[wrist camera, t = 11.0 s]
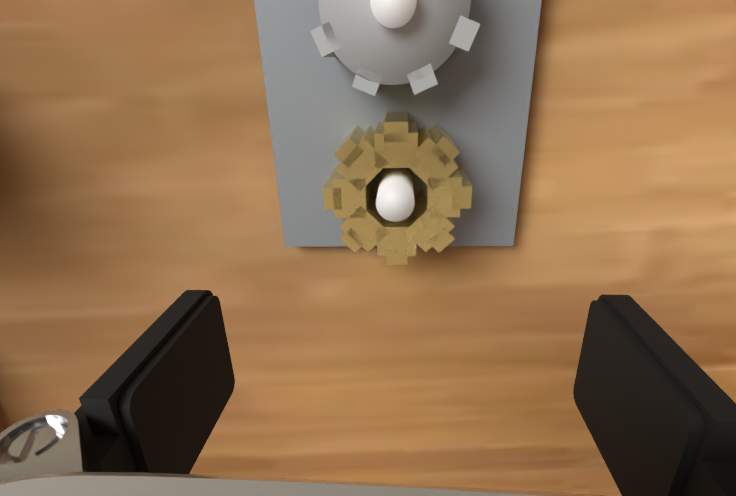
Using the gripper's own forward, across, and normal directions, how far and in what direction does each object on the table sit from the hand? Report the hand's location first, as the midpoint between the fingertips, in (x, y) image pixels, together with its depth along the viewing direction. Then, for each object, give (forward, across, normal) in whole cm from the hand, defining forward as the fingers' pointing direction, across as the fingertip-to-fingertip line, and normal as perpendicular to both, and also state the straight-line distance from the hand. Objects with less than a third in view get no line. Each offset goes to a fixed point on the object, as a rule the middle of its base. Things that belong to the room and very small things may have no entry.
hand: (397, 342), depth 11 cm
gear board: (+16, 0, -5) cm, 17 cm away
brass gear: (+15, 0, -1) cm, 15 cm away
